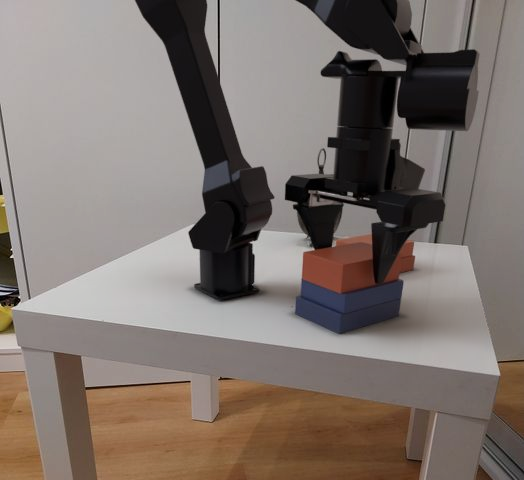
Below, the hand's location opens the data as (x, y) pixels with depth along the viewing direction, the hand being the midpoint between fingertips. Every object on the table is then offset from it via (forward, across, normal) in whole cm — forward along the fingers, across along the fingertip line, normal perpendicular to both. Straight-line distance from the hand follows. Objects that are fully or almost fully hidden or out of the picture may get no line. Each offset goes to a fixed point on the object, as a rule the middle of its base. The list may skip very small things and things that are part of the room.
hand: (350, 273), depth 61 cm
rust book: (+1, 0, 0) cm, 1 cm away
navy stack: (+5, 0, 0) cm, 5 cm away
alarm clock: (+5, +30, -23) cm, 39 cm away
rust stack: (+5, +12, -18) cm, 22 cm away
